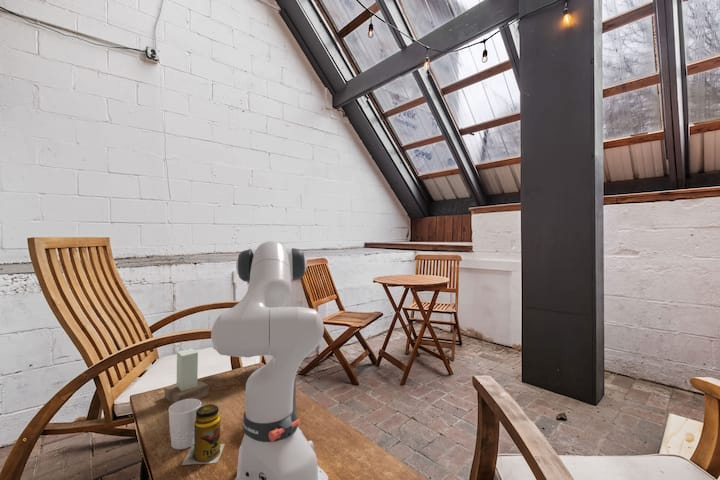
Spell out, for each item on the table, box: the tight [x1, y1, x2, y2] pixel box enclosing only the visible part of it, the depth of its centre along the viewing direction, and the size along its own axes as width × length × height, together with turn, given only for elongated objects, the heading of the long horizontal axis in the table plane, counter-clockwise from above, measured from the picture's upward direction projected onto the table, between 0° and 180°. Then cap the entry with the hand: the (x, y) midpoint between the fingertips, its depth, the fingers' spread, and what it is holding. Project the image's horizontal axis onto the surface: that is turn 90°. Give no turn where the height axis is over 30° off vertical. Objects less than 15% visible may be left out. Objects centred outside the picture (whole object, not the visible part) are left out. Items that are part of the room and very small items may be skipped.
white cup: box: [168, 399, 202, 451], centre depth 92 cm, size 8×8×10 cm
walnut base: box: [164, 379, 210, 404], centre depth 118 cm, size 10×10×4 cm
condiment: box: [181, 403, 226, 466], centre depth 87 cm, size 7×8×12 cm
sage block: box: [176, 348, 199, 391], centre depth 117 cm, size 5×5×12 cm
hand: (220, 350), depth 127 cm, fingers open, 8 cm apart
